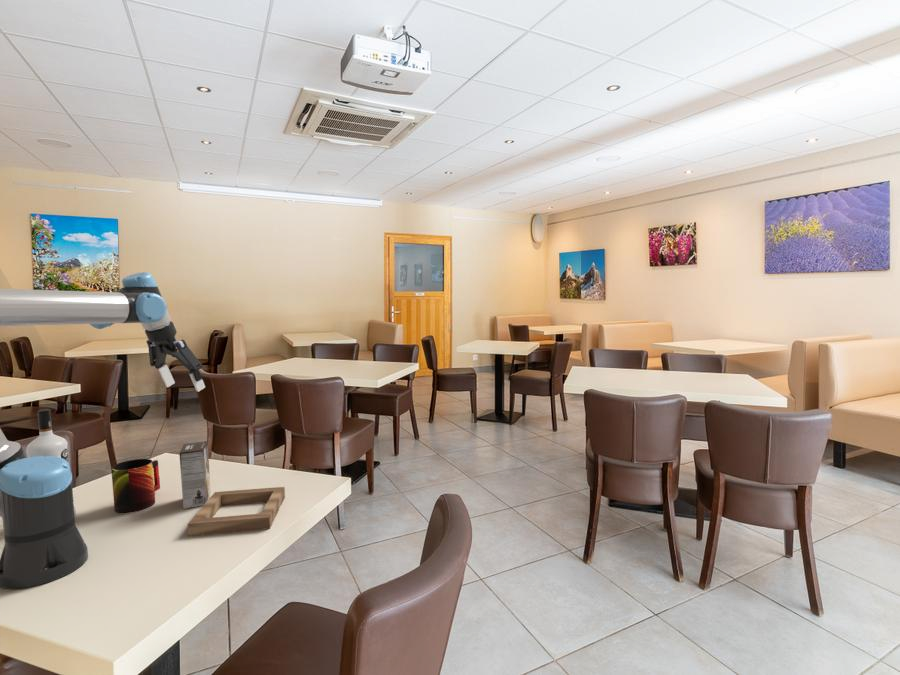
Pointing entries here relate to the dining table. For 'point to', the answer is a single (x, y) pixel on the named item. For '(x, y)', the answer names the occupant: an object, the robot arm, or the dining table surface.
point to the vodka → (47, 440)
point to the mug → (134, 485)
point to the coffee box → (195, 474)
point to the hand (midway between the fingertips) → (185, 387)
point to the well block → (210, 525)
